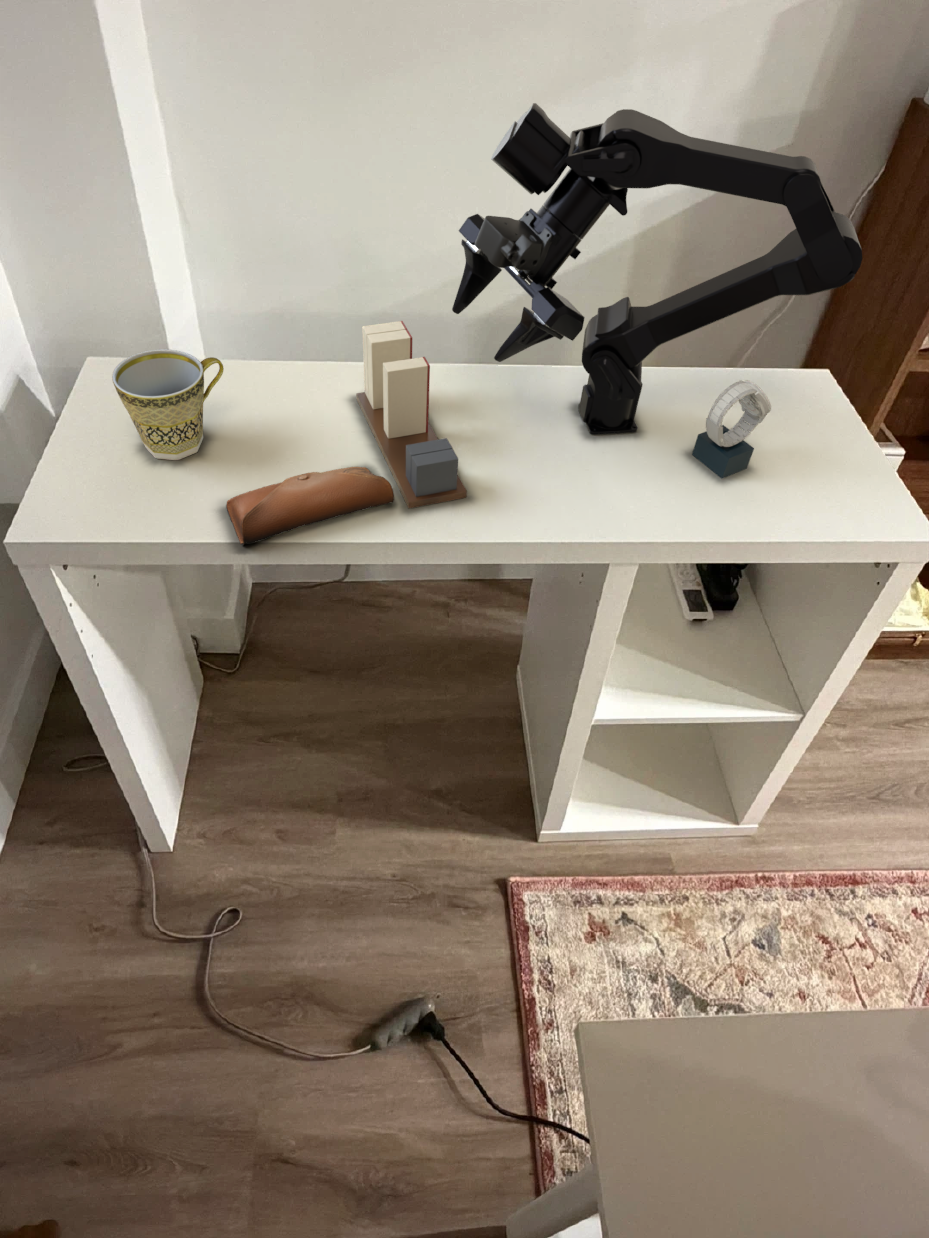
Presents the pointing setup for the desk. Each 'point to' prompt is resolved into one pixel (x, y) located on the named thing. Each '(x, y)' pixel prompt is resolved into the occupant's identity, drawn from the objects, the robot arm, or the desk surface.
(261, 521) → the sunglasses case
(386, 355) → the white books
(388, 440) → the shelf board
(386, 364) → the white book
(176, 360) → the ceramic cup
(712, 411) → the watch
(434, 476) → the grey books
